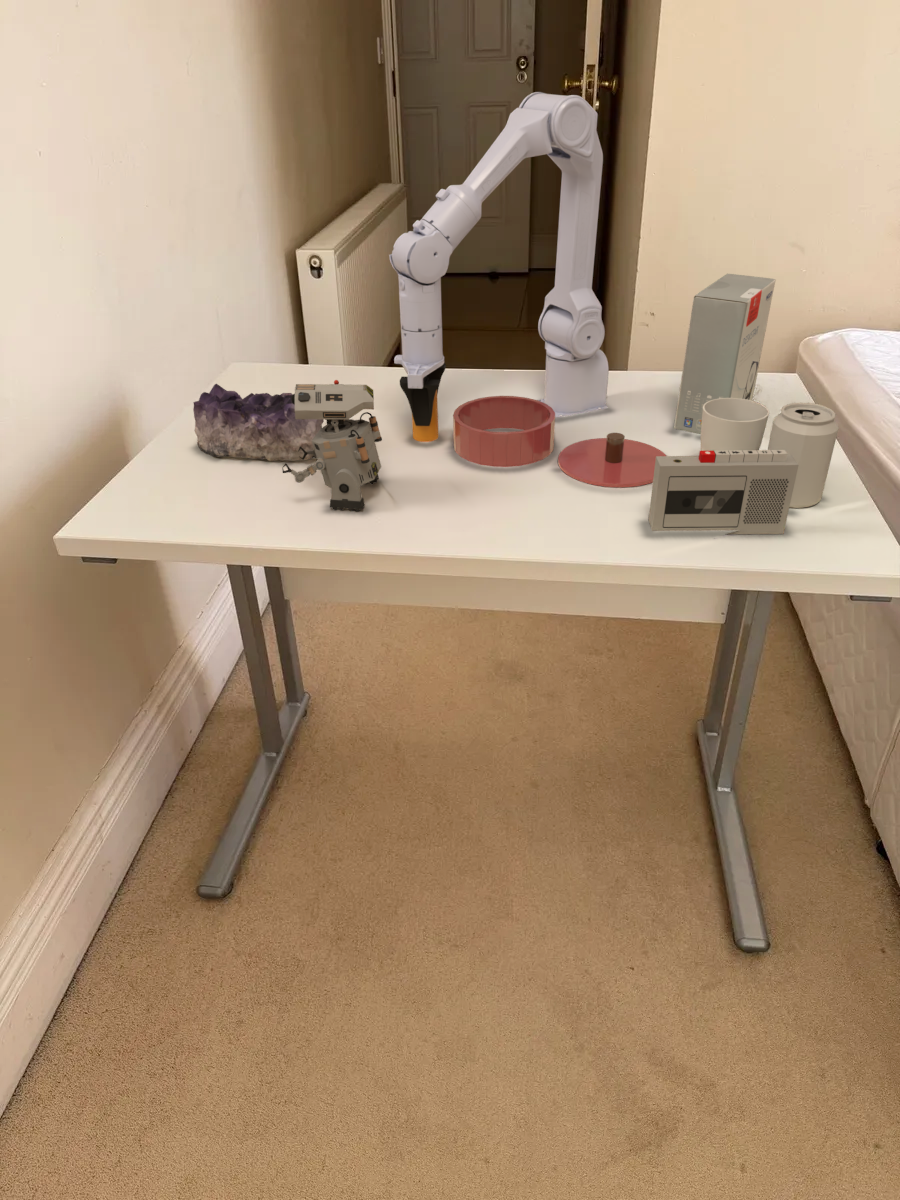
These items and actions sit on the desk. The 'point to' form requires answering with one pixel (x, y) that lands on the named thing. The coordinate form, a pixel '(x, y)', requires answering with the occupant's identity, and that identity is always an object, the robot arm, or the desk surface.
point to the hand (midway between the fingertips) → (425, 419)
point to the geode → (252, 426)
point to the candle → (427, 431)
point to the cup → (732, 424)
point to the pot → (504, 445)
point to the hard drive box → (723, 345)
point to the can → (806, 447)
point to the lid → (610, 461)
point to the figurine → (340, 439)
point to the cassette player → (723, 491)
